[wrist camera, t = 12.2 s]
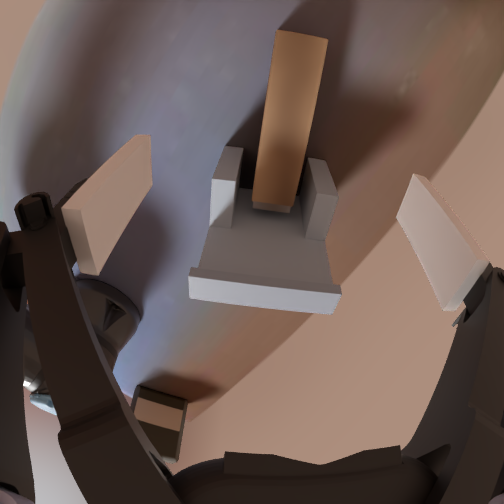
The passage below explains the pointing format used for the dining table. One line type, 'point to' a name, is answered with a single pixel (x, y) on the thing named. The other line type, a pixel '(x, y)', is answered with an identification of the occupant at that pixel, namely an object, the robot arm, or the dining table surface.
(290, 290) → the grey u-shaped bracket
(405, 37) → the dining table surface
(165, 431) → the bottle
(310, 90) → the rail
